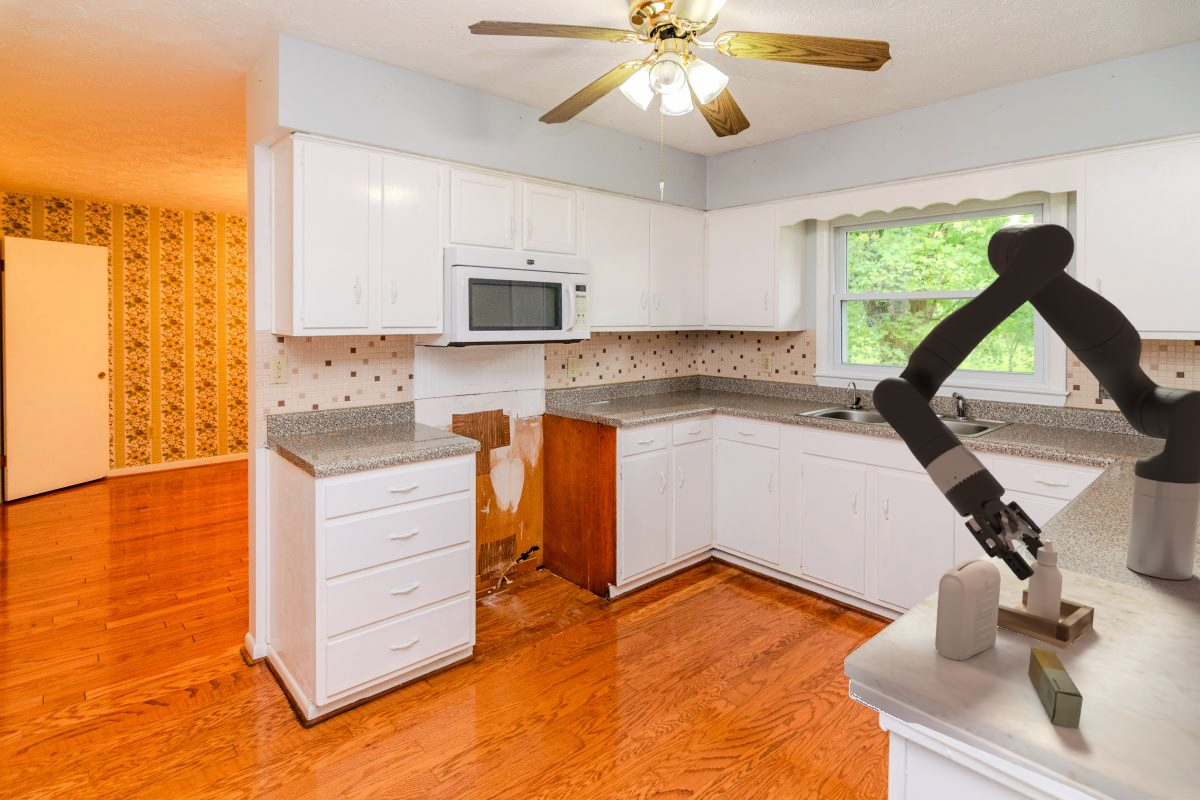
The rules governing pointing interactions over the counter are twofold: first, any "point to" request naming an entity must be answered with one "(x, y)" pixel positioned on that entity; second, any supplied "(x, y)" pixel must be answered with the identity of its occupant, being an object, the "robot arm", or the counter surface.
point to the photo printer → (967, 609)
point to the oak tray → (1048, 622)
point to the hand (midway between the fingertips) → (1039, 571)
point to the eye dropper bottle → (1045, 585)
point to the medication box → (1055, 688)
